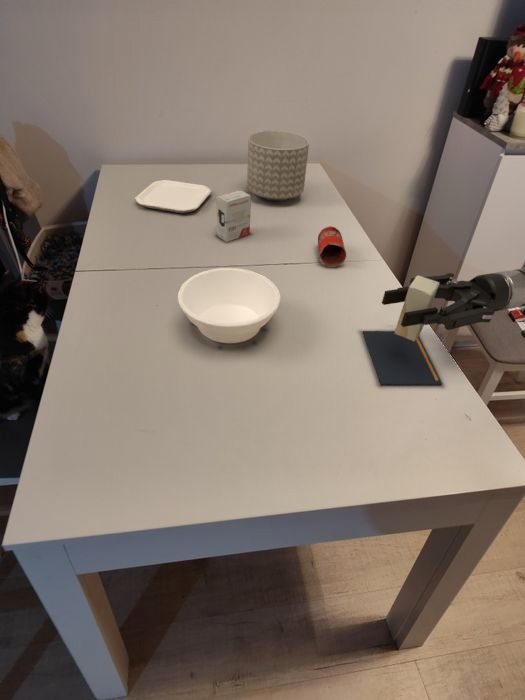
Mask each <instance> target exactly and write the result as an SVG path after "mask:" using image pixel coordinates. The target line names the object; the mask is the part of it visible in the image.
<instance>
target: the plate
mask: <svg viewBox="0 0 525 700" xmlns="http://www.w3.org/2000/svg"><path fill="white" fill-rule="evenodd" d="M212 192H213V191H212V190H211V188H209V187H208V186H206V185H204V184H198V183H197V184H196V183H189V182H183V181H178V180H177V181H176V180H169V179H163V180H155V181H153V182H151V183H150V184H149V185H148V186H147V187H146V188H145V189H143V190H142V191H141V192H140V193H138V195H136V196H135V197H134V201H135V202H136V203H137V204H138V205H140V206H141V207H145V208H146V209H147V208H148V209H152V210H158V211H166V212H171V213H178V214H186V213H191V212H194V211H197V210H198V209H199V208H200V207H201V206H202V204H203V203H204V202H205V201H206V200H207V198H208V197H209V196H210V195H211V194H212Z"/></svg>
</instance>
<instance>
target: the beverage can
mask: <svg viewBox="0 0 525 700" xmlns="http://www.w3.org/2000/svg"><path fill="white" fill-rule="evenodd" d="M317 246H318V259H319V260H320V261H321V263H322V264H323V265H324V266H326V267H328V268H336V267H339V266H340V265H343V264H344V263H345V262H346V258H347V251H346V248H345V244H344V239H343V236H342V233H341V231H340V230H339V229H338V228H337V227H335V226H332V225H331V226H330V225H329V226H326V227H324V228H322V229H321V230H320V232H319V233H318V235H317Z"/></svg>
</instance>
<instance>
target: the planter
mask: <svg viewBox="0 0 525 700" xmlns="http://www.w3.org/2000/svg"><path fill="white" fill-rule="evenodd" d="M247 139H248V141H247V142H248V145H247V173H246V175H247V176H246V177H247V179H246V188H247V190H248V191H249V192H250V193H252V194H254V195H255V196H258V197H260V198H261V199H264V200H267V201H271V202H283V201H286V200H289V199H293V198H297V197H299V196H300V195H302V194H303V193H304V190H305V183H306V174H307V173H306V172H307V165H308V157H309V147H310V140H309V139H308V138H307V137H306V136H304V135H301V134H299V133H296V132H291V131H283V130H262V131H257V132H253V133H252V134H250V135H249V136H248V138H247Z"/></svg>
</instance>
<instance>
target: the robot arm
mask: <svg viewBox="0 0 525 700" xmlns="http://www.w3.org/2000/svg"><path fill="white" fill-rule="evenodd" d="M424 277H425V278H428V279H430V280H433V281H437V282H439V286H438V289H437V292H436V294H435V297H434V299H441V300H442V299H444V300H445V301H446V302H453V303H452V304H449V305H447V306H446V307H443V306H441V307H440V308H437V307H435V306H434V307H431V308H429V309H423V310H417V311H411V312H405V313H404V316H403V319H402V322H401V325H402V327H406V326H412V325H418V324H423V325H424V326H428V325H434V324H437V325H443V326H444V329H445V330H447V331H450V330H455V329H458V328H462V327H466V326H470V325H474V324H478V323H490V322H491V320H492V318H493V316H494V314H495V313H496V312H499V311H504V310H509V309H515V308H521V307H522V308H523V307H525V261H524V262H523V264H522V266H521V267H520V268H516V269H510V270H504V271H497V272H491V273H485V274H478V275H476V276H474V277H473V278H471V279H470V280H457V279H456V278H454V277H455V274H454V273H452V272H448V273H445V274H443V275H430V276H424ZM415 278H416V277H411V278H410V281H409V283H408V286H401V287H398V288H396V289H390V290H385V291H384V294H383V296H382V301H381V304H382V305H383V306H387V305H392V304H398V303H404V302H405V299H406V296H407V292H408V289H409V286H410V285H411V283H412V282H413V280H414V279H415Z"/></svg>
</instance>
